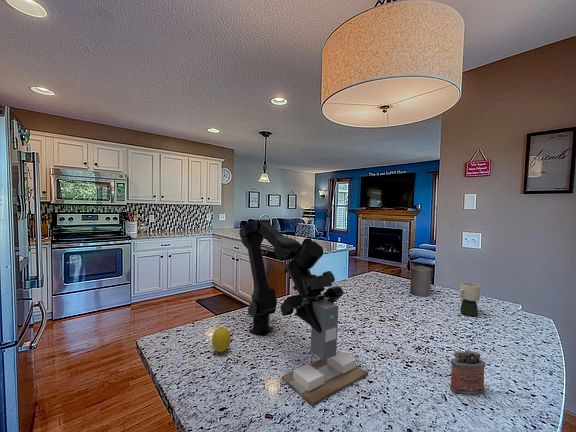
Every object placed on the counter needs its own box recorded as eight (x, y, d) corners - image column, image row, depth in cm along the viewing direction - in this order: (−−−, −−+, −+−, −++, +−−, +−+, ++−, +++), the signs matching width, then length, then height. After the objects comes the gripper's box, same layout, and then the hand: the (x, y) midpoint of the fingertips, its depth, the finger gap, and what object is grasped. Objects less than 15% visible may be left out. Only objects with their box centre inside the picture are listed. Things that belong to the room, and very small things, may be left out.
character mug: (470, 309, 123) (472, 280, 122) (486, 316, 116) (487, 285, 115) (451, 312, 119) (452, 282, 119) (466, 319, 113) (467, 287, 112)
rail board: (281, 379, 72) (281, 376, 72) (335, 355, 84) (335, 352, 84) (311, 406, 63) (312, 403, 63) (368, 375, 74) (368, 372, 74)
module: (310, 351, 73) (312, 302, 73) (323, 346, 76) (325, 299, 75) (323, 360, 69) (325, 308, 69) (336, 355, 72) (338, 306, 71)
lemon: (223, 345, 89) (223, 321, 89) (234, 351, 86) (234, 326, 85) (208, 352, 85) (208, 327, 84) (219, 359, 81) (219, 332, 81)
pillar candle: (406, 291, 148) (407, 263, 147) (422, 290, 150) (423, 263, 149) (417, 297, 139) (418, 268, 138) (435, 296, 140) (436, 267, 139)
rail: (289, 383, 69) (289, 381, 69) (344, 358, 81) (344, 356, 81) (302, 394, 65) (302, 392, 65) (357, 366, 77) (357, 364, 77)
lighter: (477, 386, 70) (479, 347, 70) (487, 395, 67) (489, 355, 67) (446, 386, 70) (448, 347, 70) (455, 395, 67) (456, 355, 66)
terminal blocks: (293, 378, 71) (293, 370, 71) (339, 357, 81) (339, 350, 81) (308, 391, 66) (308, 382, 66) (355, 367, 76) (355, 359, 76)
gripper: (287, 265, 70) (315, 325, 61) (340, 258, 80) (370, 307, 72) (270, 288, 76) (293, 344, 68) (321, 279, 87) (346, 326, 78)
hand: (327, 330), depth 71 cm, fingers closed on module, 5 cm apart
